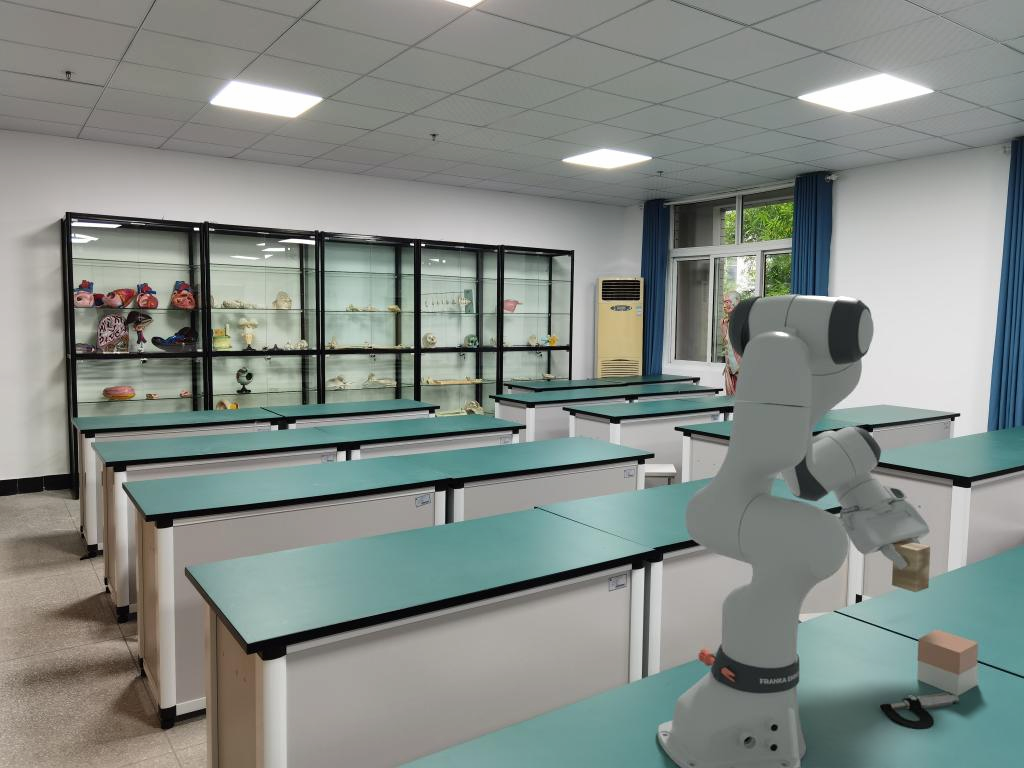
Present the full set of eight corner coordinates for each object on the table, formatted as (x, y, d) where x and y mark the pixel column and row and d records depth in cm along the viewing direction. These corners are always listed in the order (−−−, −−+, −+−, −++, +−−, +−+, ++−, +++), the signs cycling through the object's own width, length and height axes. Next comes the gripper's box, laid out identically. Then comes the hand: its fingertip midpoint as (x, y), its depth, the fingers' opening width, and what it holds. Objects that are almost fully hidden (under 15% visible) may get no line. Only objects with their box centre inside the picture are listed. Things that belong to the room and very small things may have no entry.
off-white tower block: (958, 697, 125) (958, 674, 125) (917, 680, 131) (918, 659, 130) (977, 685, 129) (978, 664, 128) (936, 670, 135) (937, 650, 134)
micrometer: (905, 734, 114) (906, 718, 114) (874, 710, 121) (875, 696, 121) (985, 723, 117) (986, 708, 117) (950, 701, 124) (951, 687, 124)
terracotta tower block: (959, 675, 125) (960, 652, 124) (917, 660, 130) (918, 638, 130) (977, 664, 129) (978, 642, 128) (936, 650, 134) (936, 629, 134)
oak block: (915, 592, 134) (917, 550, 133) (891, 585, 137) (893, 544, 137) (928, 587, 136) (930, 546, 135) (905, 580, 140) (906, 540, 139)
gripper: (847, 501, 136) (895, 565, 128) (907, 489, 147) (954, 547, 139) (825, 519, 140) (870, 582, 132) (885, 506, 151) (930, 564, 143)
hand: (914, 564), depth 136 cm, fingers closed on oak block, 4 cm apart
